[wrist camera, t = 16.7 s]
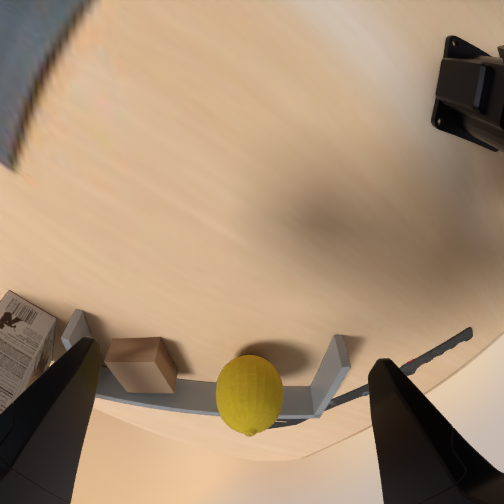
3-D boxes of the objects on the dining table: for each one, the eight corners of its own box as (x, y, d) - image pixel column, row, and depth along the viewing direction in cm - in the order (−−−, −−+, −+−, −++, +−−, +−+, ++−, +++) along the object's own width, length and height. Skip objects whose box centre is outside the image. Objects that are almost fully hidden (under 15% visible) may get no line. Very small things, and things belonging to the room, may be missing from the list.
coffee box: (53, 361, 29) (10, 481, 16) (9, 336, 27) (-43, 448, 14) (59, 317, 25) (-5, 467, 12) (6, 287, 23) (-71, 421, 10)
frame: (342, 335, 26) (351, 366, 23) (315, 390, 31) (319, 418, 28) (75, 309, 24) (60, 338, 21) (97, 369, 29) (88, 395, 26)
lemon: (288, 341, 26) (297, 423, 20) (269, 376, 29) (273, 449, 23) (225, 330, 26) (219, 416, 19) (213, 367, 28) (207, 443, 22)
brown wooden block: (160, 334, 26) (154, 361, 24) (178, 368, 29) (174, 393, 27) (112, 337, 27) (104, 361, 24) (133, 368, 29) (127, 392, 27)
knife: (250, 436, 39) (250, 440, 39) (232, 427, 37) (231, 431, 37) (472, 340, 29) (474, 344, 28) (470, 323, 27) (472, 327, 26)
